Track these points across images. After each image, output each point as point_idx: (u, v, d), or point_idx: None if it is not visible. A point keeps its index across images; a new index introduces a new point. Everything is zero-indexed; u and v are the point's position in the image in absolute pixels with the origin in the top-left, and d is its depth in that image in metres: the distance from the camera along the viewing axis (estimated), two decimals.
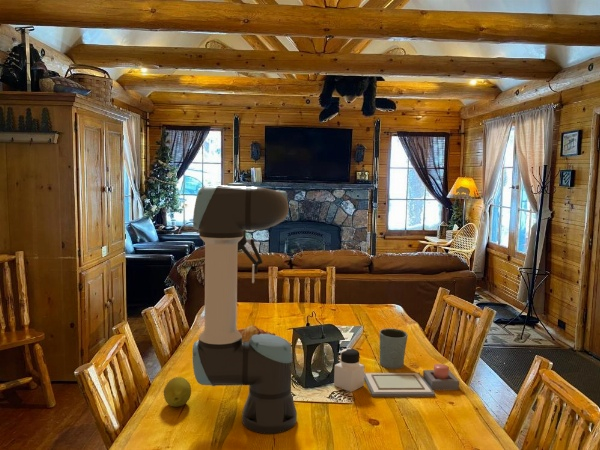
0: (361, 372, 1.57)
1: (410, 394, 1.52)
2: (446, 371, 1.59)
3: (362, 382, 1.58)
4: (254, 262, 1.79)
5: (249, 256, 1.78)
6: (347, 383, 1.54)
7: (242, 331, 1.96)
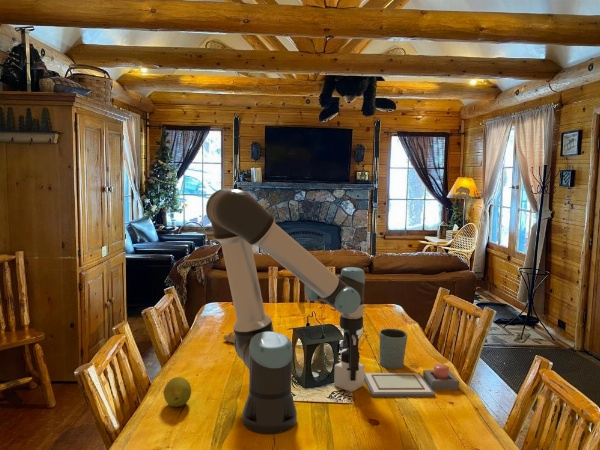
0: (361, 372, 1.57)
1: (410, 394, 1.52)
2: (446, 371, 1.59)
3: (362, 382, 1.58)
4: (349, 366, 1.52)
5: None
6: (347, 383, 1.54)
7: None
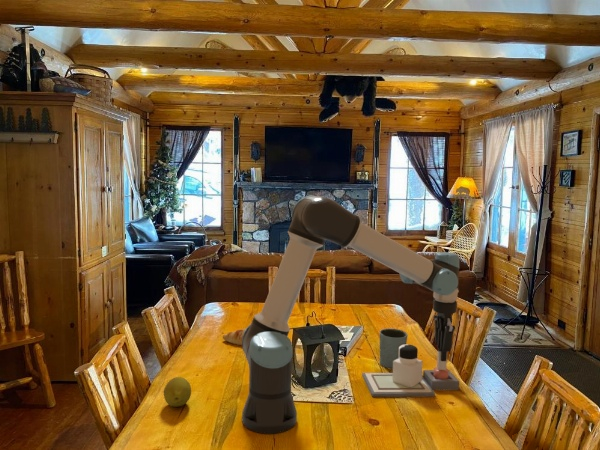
0: (419, 367, 1.58)
1: (410, 394, 1.52)
2: (446, 374, 1.59)
3: (420, 377, 1.59)
4: (440, 347, 1.59)
5: (441, 338, 1.59)
6: (406, 378, 1.55)
7: (240, 332, 1.96)
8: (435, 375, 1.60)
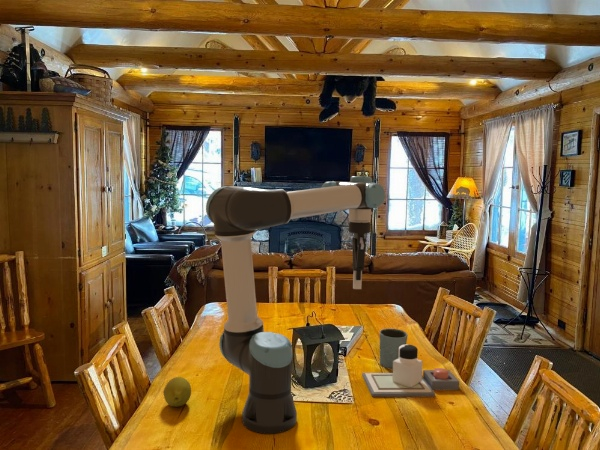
0: (419, 367, 1.58)
1: (410, 394, 1.52)
2: (446, 375, 1.59)
3: (420, 377, 1.59)
4: (355, 266, 1.67)
5: (355, 258, 1.66)
6: (406, 378, 1.55)
7: None
8: (435, 376, 1.60)
